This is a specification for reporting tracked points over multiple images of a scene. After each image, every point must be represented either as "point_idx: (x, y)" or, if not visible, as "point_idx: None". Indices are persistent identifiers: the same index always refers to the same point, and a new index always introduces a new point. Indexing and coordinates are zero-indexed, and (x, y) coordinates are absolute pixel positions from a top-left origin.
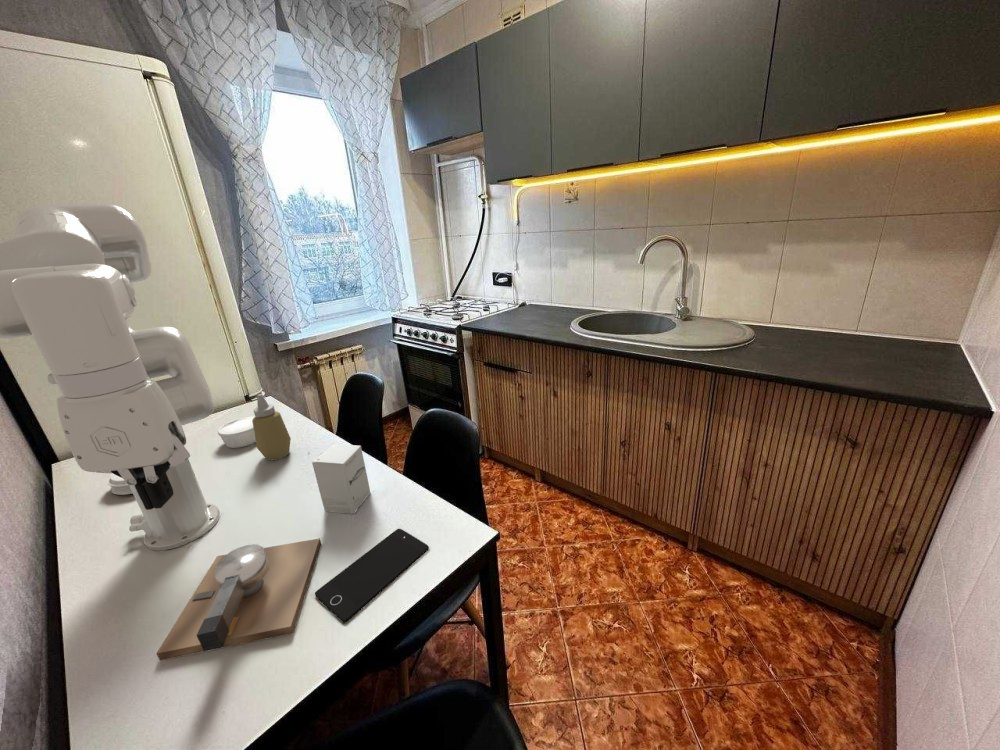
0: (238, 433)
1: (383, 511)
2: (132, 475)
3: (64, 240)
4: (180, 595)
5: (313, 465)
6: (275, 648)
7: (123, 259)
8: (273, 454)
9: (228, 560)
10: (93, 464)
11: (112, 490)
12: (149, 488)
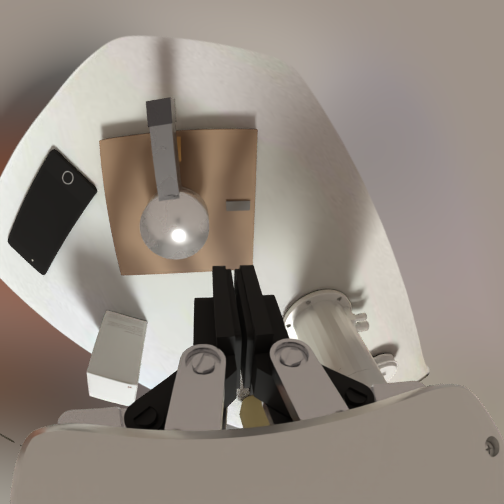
0: None
1: (74, 306)
2: (282, 382)
3: None
4: (277, 219)
5: (136, 380)
6: (117, 121)
7: None
8: (254, 400)
9: (193, 232)
10: (442, 430)
11: (392, 356)
12: (217, 322)
